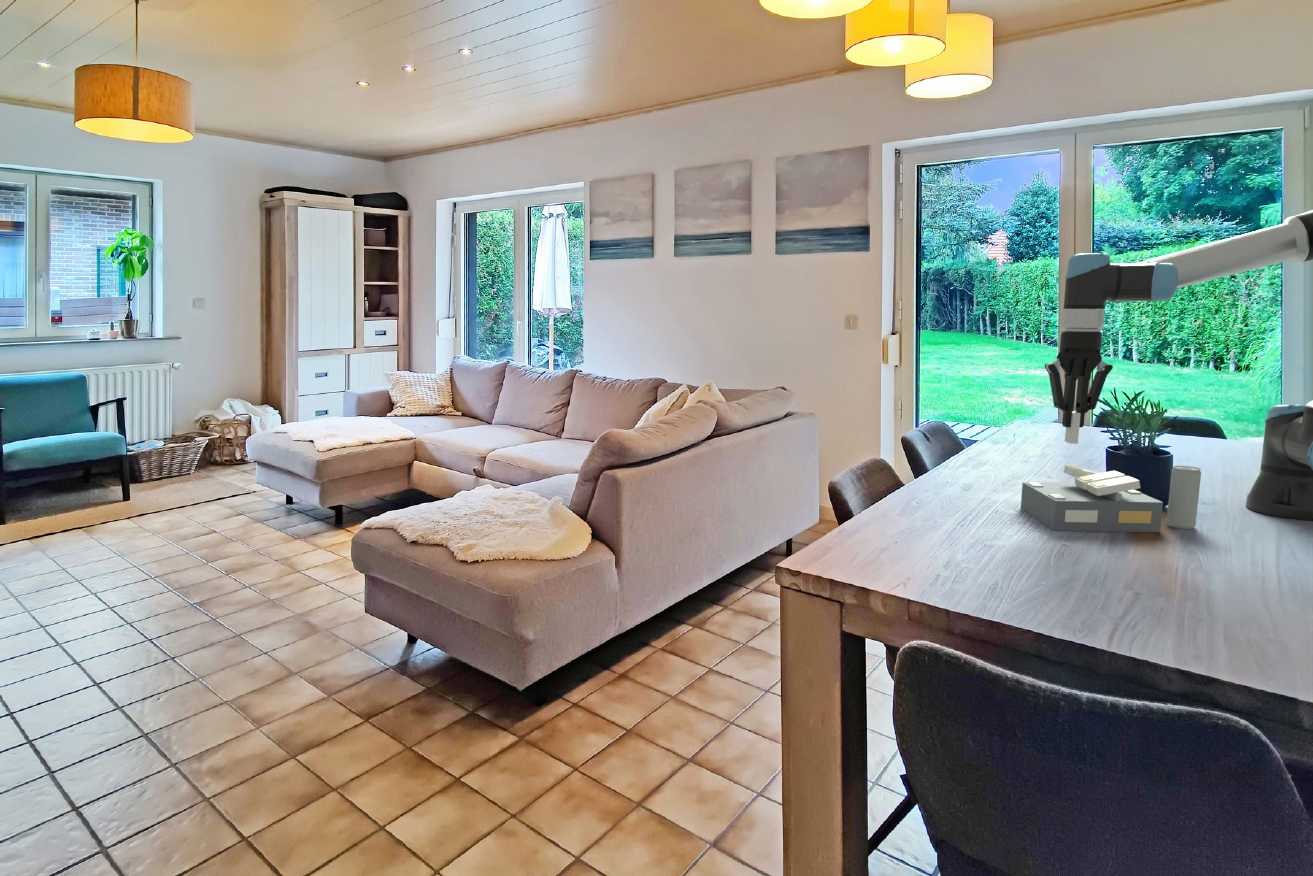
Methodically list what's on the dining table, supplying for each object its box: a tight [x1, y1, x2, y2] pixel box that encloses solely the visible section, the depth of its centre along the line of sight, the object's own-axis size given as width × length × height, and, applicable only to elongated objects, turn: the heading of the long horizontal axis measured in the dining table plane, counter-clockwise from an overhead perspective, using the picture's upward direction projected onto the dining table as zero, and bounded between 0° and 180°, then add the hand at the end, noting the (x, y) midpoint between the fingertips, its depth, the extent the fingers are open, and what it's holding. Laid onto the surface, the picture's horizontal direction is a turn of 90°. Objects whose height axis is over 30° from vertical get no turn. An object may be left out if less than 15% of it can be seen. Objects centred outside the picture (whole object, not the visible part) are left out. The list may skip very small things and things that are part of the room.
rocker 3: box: [1087, 475, 1141, 496], centre depth 150 cm, size 8×4×2 cm, turn 83°
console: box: [1020, 481, 1164, 533], centre depth 156 cm, size 20×17×7 cm
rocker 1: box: [1062, 464, 1102, 478], centre depth 161 cm, size 8×4×2 cm, turn 86°
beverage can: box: [1166, 465, 1202, 530], centre depth 150 cm, size 5×5×12 cm
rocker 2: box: [1074, 469, 1126, 490], centre depth 155 cm, size 8×4×2 cm, turn 83°
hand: (1071, 442), depth 160 cm, fingers closed
